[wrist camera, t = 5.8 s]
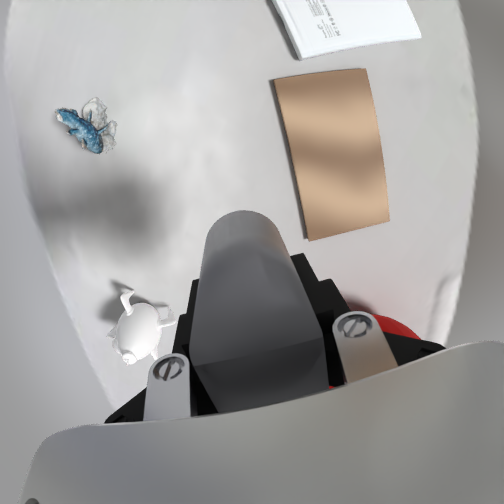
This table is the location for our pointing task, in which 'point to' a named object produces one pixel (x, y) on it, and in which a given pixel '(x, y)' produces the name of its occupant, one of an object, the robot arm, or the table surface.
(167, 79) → the table surface
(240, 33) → the table surface
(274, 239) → the connector
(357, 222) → the wood pad
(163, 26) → the table surface
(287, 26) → the external hard drive
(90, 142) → the sculpture
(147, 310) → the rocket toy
